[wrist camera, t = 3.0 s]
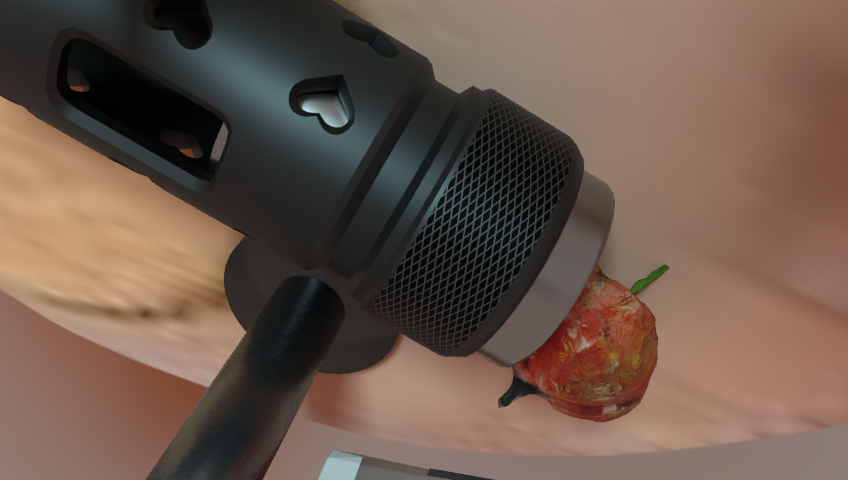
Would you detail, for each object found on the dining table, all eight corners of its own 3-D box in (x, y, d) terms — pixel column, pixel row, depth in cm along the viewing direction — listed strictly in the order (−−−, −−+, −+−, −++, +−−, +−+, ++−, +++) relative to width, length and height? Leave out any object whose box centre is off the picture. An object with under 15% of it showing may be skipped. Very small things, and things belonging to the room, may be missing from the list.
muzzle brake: (3, -268, 24) (-319, -311, 16) (627, 122, 27) (636, 264, 18) (-14, -33, 30) (-259, 29, 21) (504, 271, 32) (469, 434, 24)
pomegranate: (602, 181, 31) (426, 293, 29) (725, 241, 25) (511, 387, 23) (633, 293, 35) (480, 397, 33) (744, 369, 29) (563, 501, 27)
